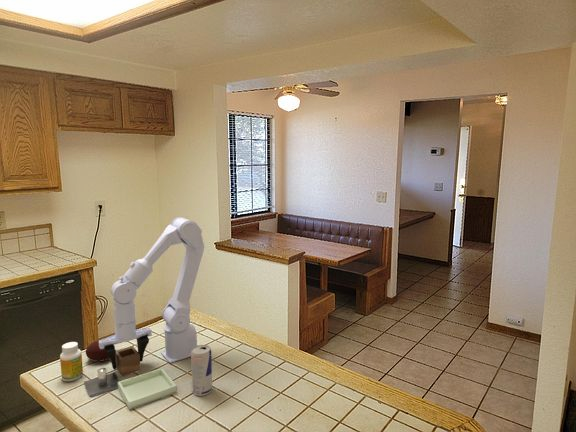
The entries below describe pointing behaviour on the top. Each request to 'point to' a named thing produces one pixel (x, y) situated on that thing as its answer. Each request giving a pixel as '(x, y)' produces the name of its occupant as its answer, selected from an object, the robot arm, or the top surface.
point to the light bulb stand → (101, 383)
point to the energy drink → (201, 370)
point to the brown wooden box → (127, 361)
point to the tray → (146, 388)
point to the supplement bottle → (71, 362)
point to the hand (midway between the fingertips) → (127, 363)
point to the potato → (96, 352)
